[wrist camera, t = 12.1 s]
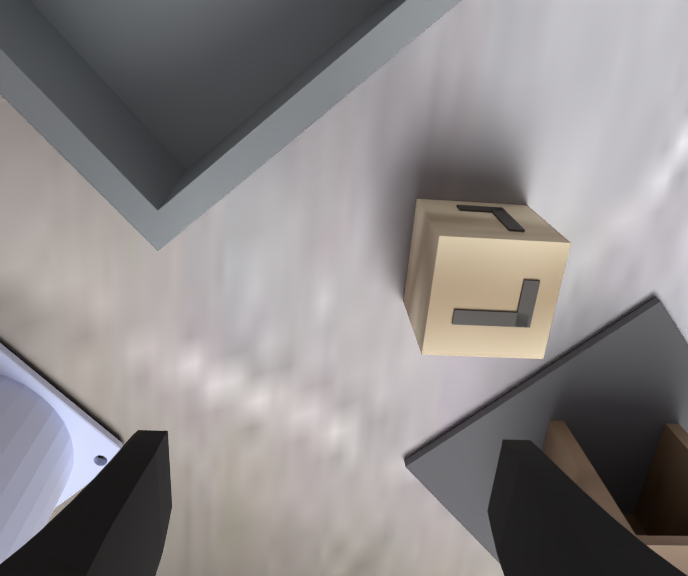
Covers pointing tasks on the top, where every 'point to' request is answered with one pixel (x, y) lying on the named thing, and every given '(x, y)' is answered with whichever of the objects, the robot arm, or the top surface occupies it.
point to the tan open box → (656, 497)
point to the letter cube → (483, 279)
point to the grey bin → (189, 87)
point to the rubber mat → (572, 417)
